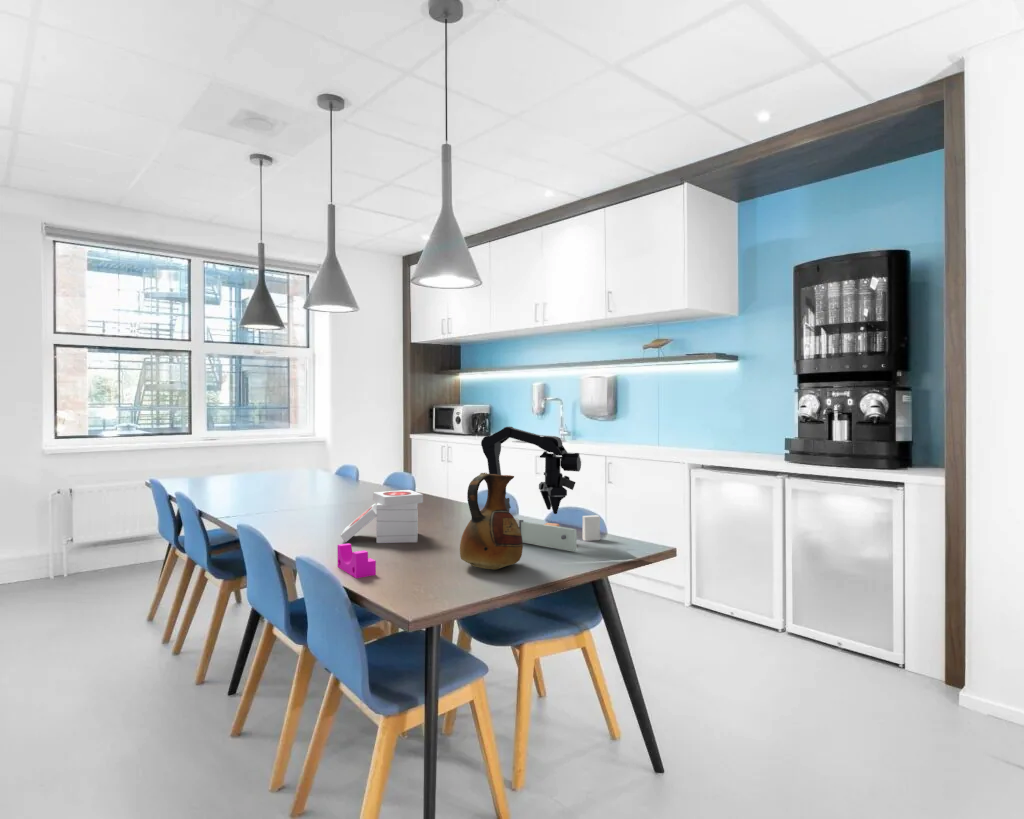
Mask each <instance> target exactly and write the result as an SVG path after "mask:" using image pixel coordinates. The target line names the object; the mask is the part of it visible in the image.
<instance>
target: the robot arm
mask: <svg viewBox="0 0 1024 819" xmlns="http://www.w3.org/2000/svg"><path fill="white" fill-rule="evenodd" d="M509 439H514V440H518V441H521V442H524V443H528V444H531V445H535V446H537V447H538V448H540V449H542V451H543V452H542V454H541V455H539V458H542V459H544V465H545V466H544V472H543V475H544V481H541V482H539V484H538V490H539V493H540V494H541V496H542V499H543V502H544V504H545V506H546V509H547V510H548V511H550V510H552V512H553V515H557V514H558V511H559V509H560V508H559V507H560V504H561V501H562V500H563V499H564V498H566V496H568V490H567V489H569V490H572V491H573V490H574V488H575V485H576V481H573V480H571V479H570V476H567V475H564V476H563V473H562V472H561V469H562V470H563V471H564V472H580V471H581V468H582V459H581V457H580V453H579V452H574V453H573V452H572V453H571V452H568V451H567V449H566V448H565V447H564V445H563V441H562V439H561V438H560V437H559V436H554V435H543V434H536V433H534V432H529V431H526V430H522V429H518V428H516V427H513V426H505V427H503V428H502V429H500V430H498V431H497V432H495V433H492V434H491V435H486V436H484V437H483V438H482V439H481V441H480V444H481V448H482V452H483V454H484V455H485V458H486V460H487V467H488V474H496V475H502V470H501V463H500V455H501V452H502V451H501V450H502V444H504V443H505V442H506V441H508V440H509ZM566 488H567V489H566ZM505 504H506V509H507V511H508V512H509V513H510V509H511V508H512V507H511V504H510V497H506V496H505Z"/></svg>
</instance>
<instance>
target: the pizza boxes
mask: <svg viewBox="0 0 1024 819" xmlns="http://www.w3.org/2000/svg"><path fill="white" fill-rule="evenodd" d="M372 501H373V502H374V504H371V506H370V507H369V508H367V509H366V510H365V511H364V512H363V513H361V514H360V515H359V516H357V518H355V519H353V521H352V522H351V523H349V524H348V525H347V526H346V527H345V528H344V529H343V531H342V532H341V534H340V538H341V539H343V542H345V543H347V542H348V541H349V540H350V539H352V537H354V536H355V535H356V534H358V533H359V532H360V531H361V530H362V529H363V528H364V527H366V526H367V525H368V524H369V523H370V522H372V521H373V520H376V521H375V522H376V529H375V530H376V534H375V535H376V540H375V541H376V544H385V543H386V544H391V543H393V544H394V543H395V544H396V543H418V537H419V536H418V534H419V532H418V531H419V530H418V527H419V526H418V525H419V524H418V523H419V521H418V519H419V517H418V516H419V515H418V510H419V509H418V506H419V504H423V503H424V494H423V493H420V492H417V491H415V490H414V491H413V490H411V489H403V490H400V489H399V490H390V491H389V490H386V491H374V492H372ZM375 518H376V519H375Z"/></svg>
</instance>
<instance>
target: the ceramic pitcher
mask: <svg viewBox="0 0 1024 819" xmlns="http://www.w3.org/2000/svg"><path fill="white" fill-rule="evenodd" d="M514 478H515V475H511V474H509V475H508V474H501V475H496V474H489V473H488V472H480V473H479V475H477V476H475V477H474V478H473V479H472V480H471V481H470V483H469V484H468V487H467V496H466V497H467V503H468V507H469V511H470V515H471V519H470V520H469V521H468V523H467V525H466V526H465V528H464V530H463V533H462V536H461V539H460V543H459V556H460V559H461V560H462V561H464V562H465V563H467V564H469V565H470V566H473V567H475V568H480V569H484V570H485V569H486V570H494V571H496V570H500V569H502V568H504V567H509V566H511V565H514V564H517V563H518V562H519V561H520V560H521V559H522V556H523V548H524V543H523V542H522V535H521V531H520V528H519V526H518V523H517V522H516V520H515V519H514V518H515V517H514V516H513V514H512V513H511V512H510V511H509V512H508V511H507V509H506V504H505V497H506V495H507V485H508V484H509V483H510V482H511V480H513V479H514ZM483 481H484V482H485V483H486V487H487V497H486V502H485V504H484V507H483V508H482V509H481V510H480V507H479V501H478V492H479V488H480V485H481V483H482V482H483Z"/></svg>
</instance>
